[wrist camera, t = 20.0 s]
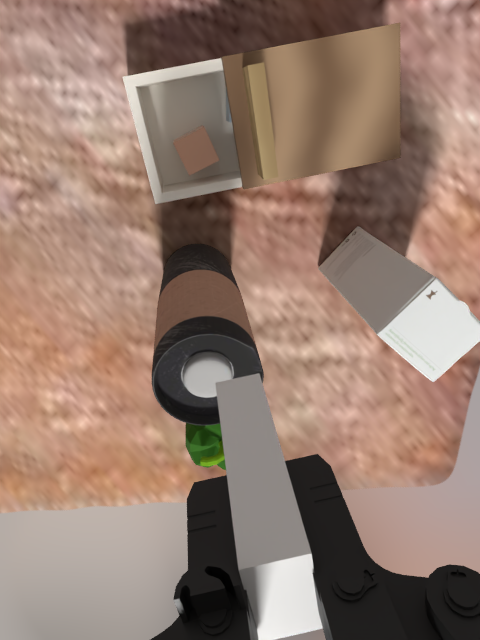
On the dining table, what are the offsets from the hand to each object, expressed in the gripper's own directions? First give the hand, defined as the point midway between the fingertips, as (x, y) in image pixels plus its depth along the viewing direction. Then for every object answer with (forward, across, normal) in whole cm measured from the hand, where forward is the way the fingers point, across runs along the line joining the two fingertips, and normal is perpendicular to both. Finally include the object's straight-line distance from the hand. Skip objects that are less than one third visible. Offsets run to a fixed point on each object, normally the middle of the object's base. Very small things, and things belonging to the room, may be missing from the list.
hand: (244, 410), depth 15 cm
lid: (+28, +11, +7) cm, 30 cm away
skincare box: (+33, +16, -10) cm, 38 cm away
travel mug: (+33, -2, -7) cm, 33 cm away
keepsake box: (+32, +3, +7) cm, 33 cm away
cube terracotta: (+32, 0, +6) cm, 32 cm away
